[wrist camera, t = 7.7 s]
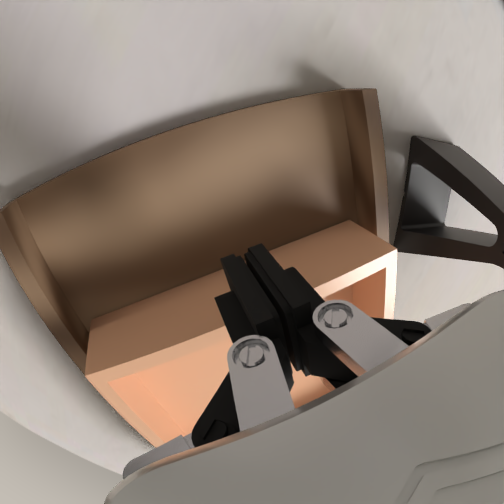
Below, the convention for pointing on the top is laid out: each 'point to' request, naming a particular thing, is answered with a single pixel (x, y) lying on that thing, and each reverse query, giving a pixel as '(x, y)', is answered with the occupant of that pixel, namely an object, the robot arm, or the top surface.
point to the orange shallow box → (221, 332)
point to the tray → (194, 205)
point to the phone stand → (436, 202)
